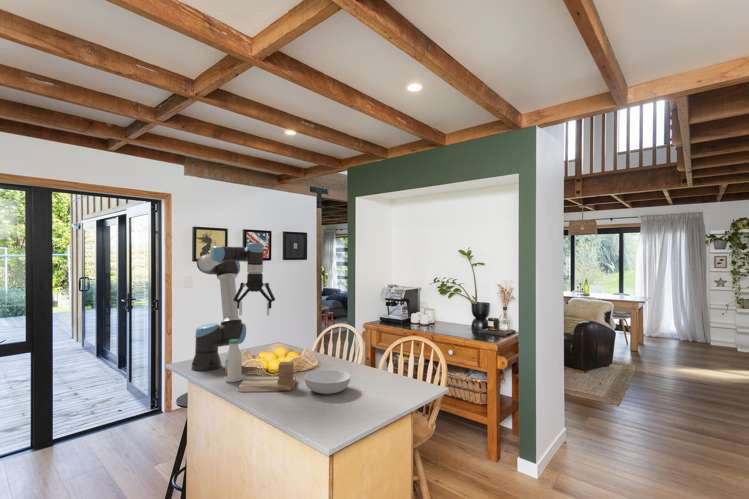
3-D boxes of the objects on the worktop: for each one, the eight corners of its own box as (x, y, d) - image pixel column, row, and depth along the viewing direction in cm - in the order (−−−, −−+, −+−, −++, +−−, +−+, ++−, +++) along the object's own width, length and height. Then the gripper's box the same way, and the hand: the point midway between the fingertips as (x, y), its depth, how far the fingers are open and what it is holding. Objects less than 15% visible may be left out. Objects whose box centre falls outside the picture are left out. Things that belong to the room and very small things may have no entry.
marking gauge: (280, 384, 184) (280, 361, 184) (293, 384, 184) (293, 361, 185) (277, 390, 176) (277, 366, 176) (290, 389, 176) (291, 366, 177)
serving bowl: (343, 400, 166) (343, 384, 166) (297, 396, 170) (297, 381, 170) (355, 385, 186) (355, 371, 186) (313, 382, 190) (314, 368, 190)
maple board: (246, 382, 189) (246, 376, 189) (295, 381, 191) (295, 376, 192) (238, 391, 175) (238, 386, 175) (292, 390, 178) (292, 385, 178)
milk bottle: (244, 378, 195) (244, 338, 196) (237, 383, 187) (237, 341, 188) (229, 377, 196) (230, 338, 196) (221, 382, 188) (222, 341, 189)
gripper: (227, 273, 192) (226, 316, 191) (278, 273, 194) (278, 316, 194) (231, 272, 200) (231, 314, 199) (281, 273, 202) (280, 314, 201)
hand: (254, 315), depth 196 cm, fingers open, 13 cm apart
